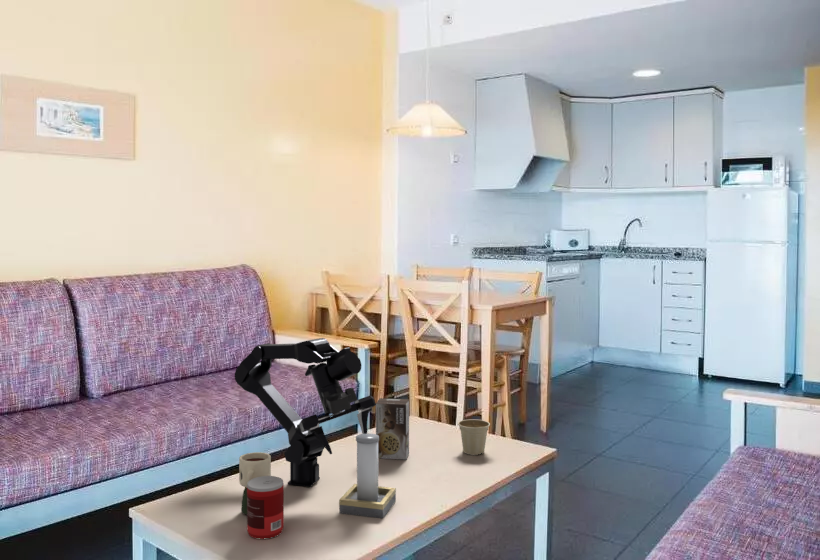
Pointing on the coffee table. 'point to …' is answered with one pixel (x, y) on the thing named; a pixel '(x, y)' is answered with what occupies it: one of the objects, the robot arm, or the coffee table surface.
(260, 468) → the character mug
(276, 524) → the canned food
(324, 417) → the robot arm
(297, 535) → the coffee table surface
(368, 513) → the tan rimmed dish
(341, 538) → the coffee table surface
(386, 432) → the coffee box
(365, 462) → the tall white tube
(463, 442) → the flower pot
